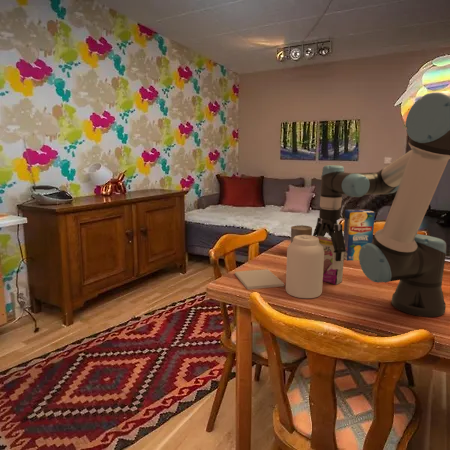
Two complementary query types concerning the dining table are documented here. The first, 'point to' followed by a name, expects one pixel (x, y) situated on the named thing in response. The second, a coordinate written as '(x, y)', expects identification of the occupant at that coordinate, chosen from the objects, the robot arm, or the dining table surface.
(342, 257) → the candy bar box
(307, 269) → the cream jar
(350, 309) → the dining table surface
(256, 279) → the grey mat
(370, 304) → the dining table surface
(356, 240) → the beverage box
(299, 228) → the pillar candle
